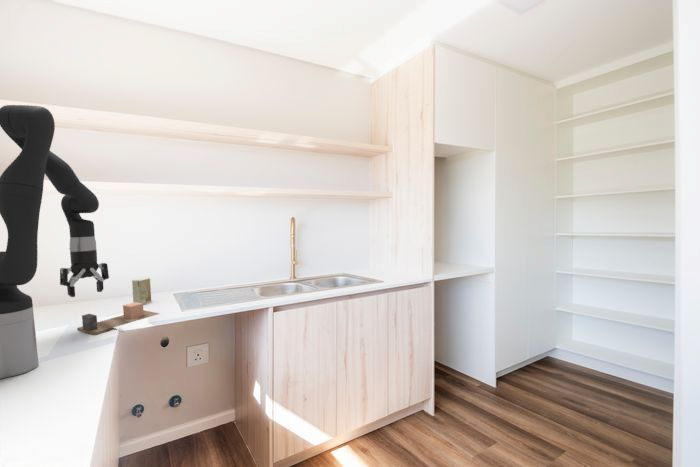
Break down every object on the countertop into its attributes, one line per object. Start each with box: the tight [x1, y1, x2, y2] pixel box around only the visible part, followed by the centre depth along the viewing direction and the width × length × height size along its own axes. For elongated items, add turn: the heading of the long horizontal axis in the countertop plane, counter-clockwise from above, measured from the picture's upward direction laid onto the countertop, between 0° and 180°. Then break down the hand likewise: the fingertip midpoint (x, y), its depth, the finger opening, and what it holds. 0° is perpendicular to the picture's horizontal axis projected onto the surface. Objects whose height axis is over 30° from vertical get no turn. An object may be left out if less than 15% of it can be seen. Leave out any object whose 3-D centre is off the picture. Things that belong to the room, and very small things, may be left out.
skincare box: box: [131, 277, 152, 306], centre depth 159 cm, size 6×4×12 cm
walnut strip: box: [77, 309, 160, 336], centre depth 136 cm, size 24×12×6 cm, turn 151°
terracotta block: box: [122, 302, 144, 319], centre depth 140 cm, size 5×5×5 cm
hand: (86, 294), depth 125 cm, fingers open, 8 cm apart
